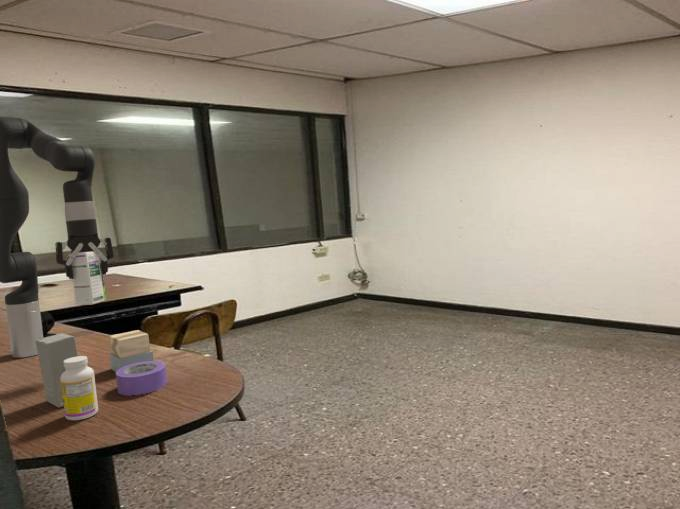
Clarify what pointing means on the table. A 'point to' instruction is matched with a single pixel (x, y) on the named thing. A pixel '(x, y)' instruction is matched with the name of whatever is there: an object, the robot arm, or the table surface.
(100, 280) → the syrup box
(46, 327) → the webcam
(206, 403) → the table surface
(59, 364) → the skincare box
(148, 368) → the tape roll
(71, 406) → the supplement bottle
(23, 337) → the robot arm
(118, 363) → the slate slab
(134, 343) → the maple block
